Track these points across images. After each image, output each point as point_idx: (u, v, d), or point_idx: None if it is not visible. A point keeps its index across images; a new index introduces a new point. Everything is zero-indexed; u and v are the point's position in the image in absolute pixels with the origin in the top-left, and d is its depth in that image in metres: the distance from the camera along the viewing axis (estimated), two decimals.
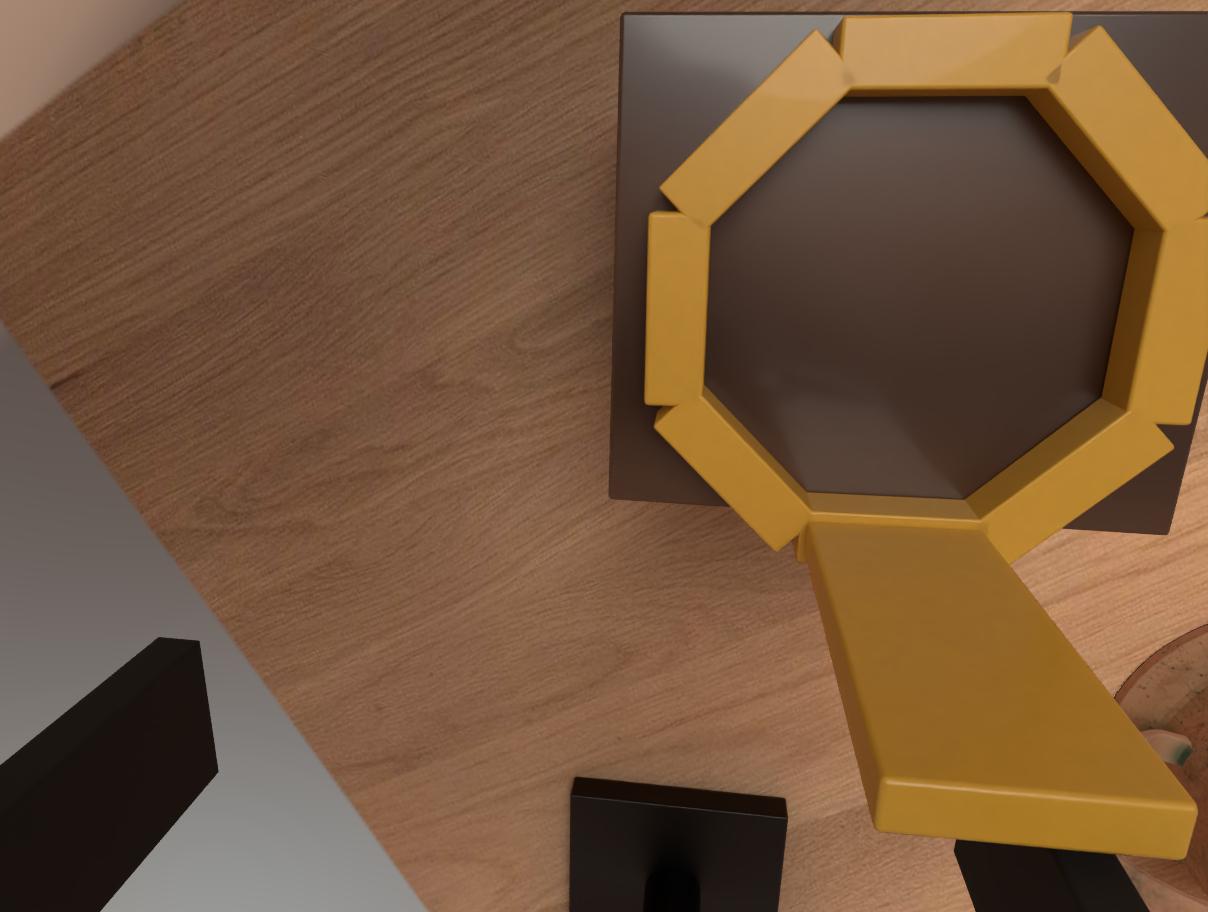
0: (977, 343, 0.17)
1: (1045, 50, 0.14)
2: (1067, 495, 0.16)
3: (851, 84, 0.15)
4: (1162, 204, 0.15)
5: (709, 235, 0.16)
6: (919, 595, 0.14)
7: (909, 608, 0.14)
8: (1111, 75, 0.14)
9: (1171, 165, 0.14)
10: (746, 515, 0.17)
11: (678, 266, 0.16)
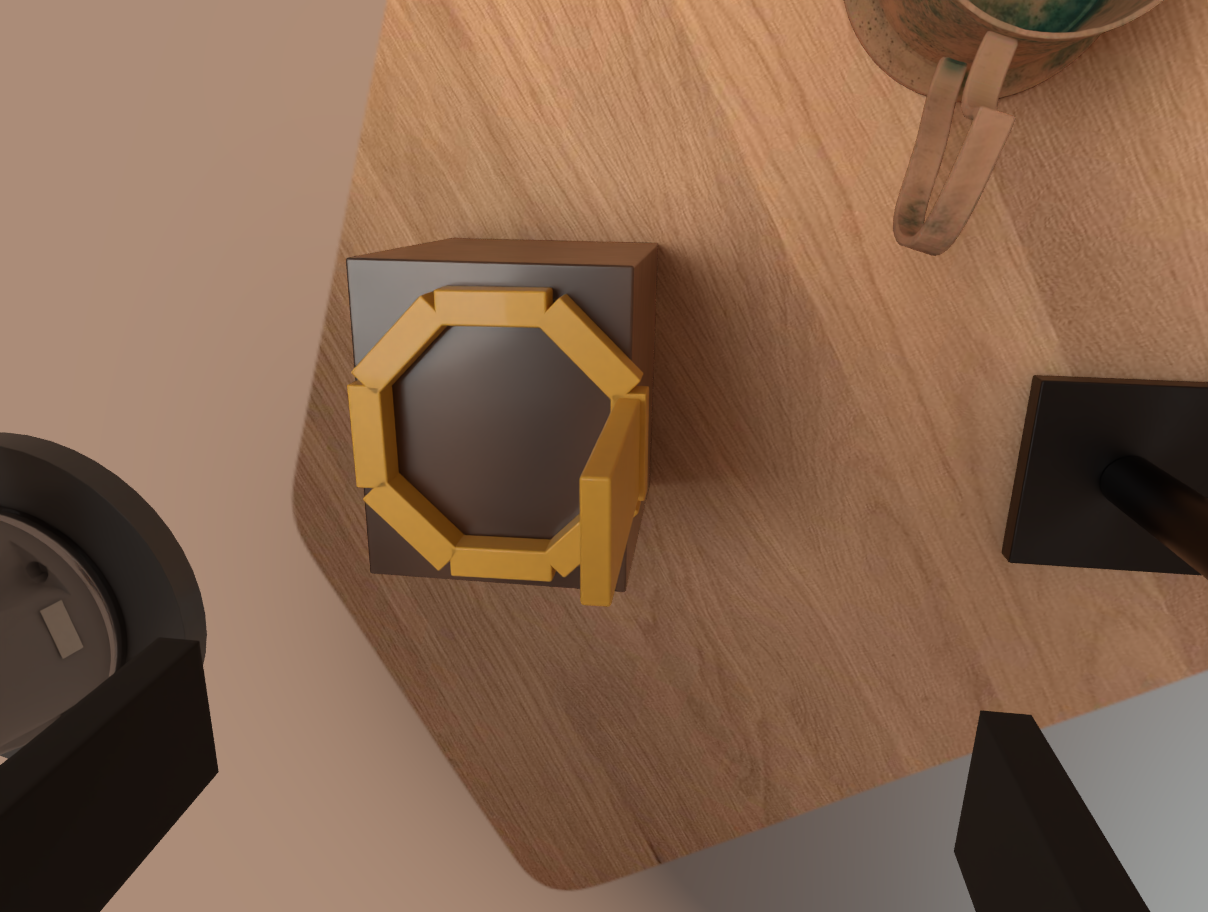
0: (519, 393, 0.29)
1: (363, 396, 0.29)
2: (592, 353, 0.27)
3: (385, 482, 0.30)
4: (428, 329, 0.28)
5: (460, 547, 0.30)
6: None
7: None
8: (371, 364, 0.28)
9: (410, 328, 0.28)
10: None
11: (476, 562, 0.30)
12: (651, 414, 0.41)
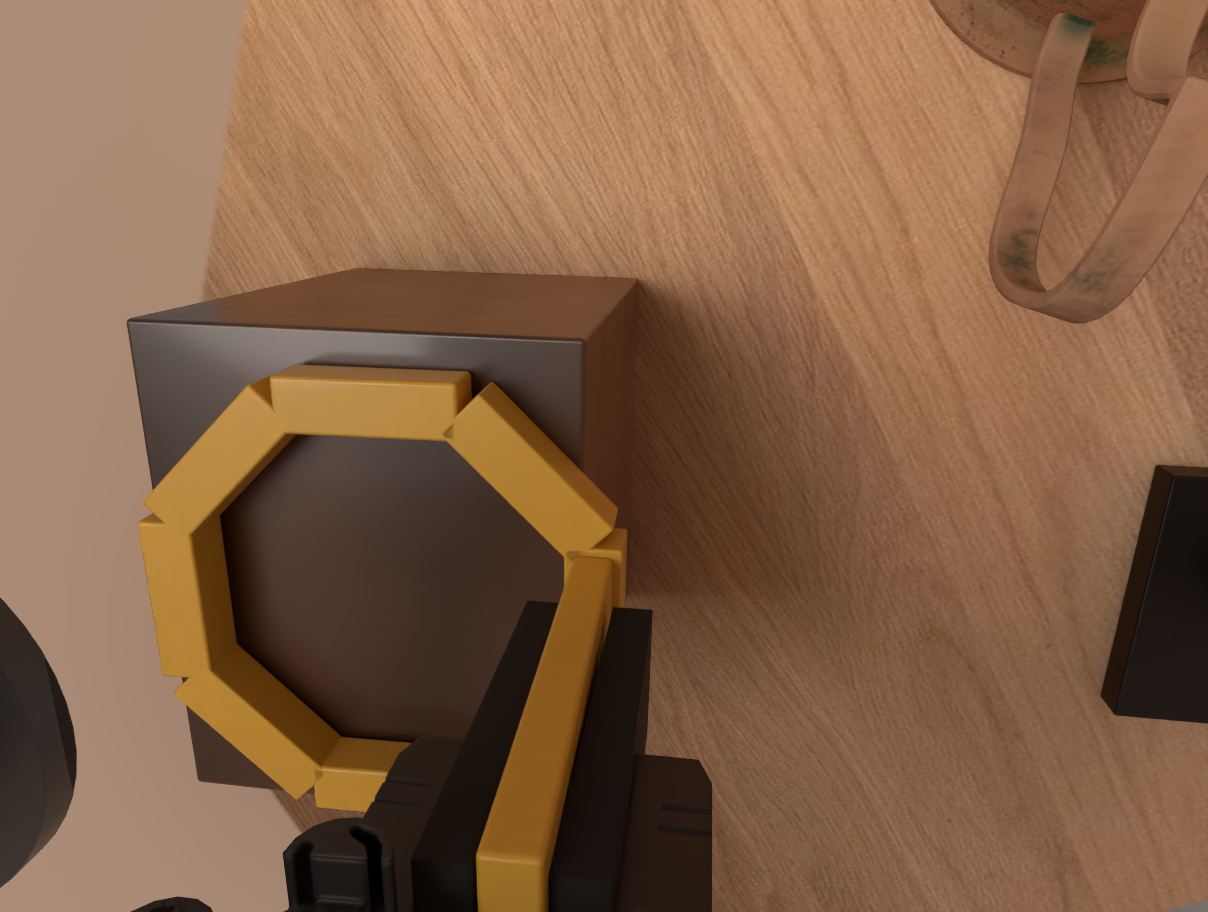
0: (407, 533, 0.19)
1: (165, 539, 0.18)
2: (533, 484, 0.16)
3: (207, 669, 0.19)
4: (264, 439, 0.17)
5: (328, 767, 0.19)
6: None
7: None
8: (174, 491, 0.17)
9: (233, 437, 0.17)
10: None
11: (353, 791, 0.19)
12: (628, 508, 0.30)
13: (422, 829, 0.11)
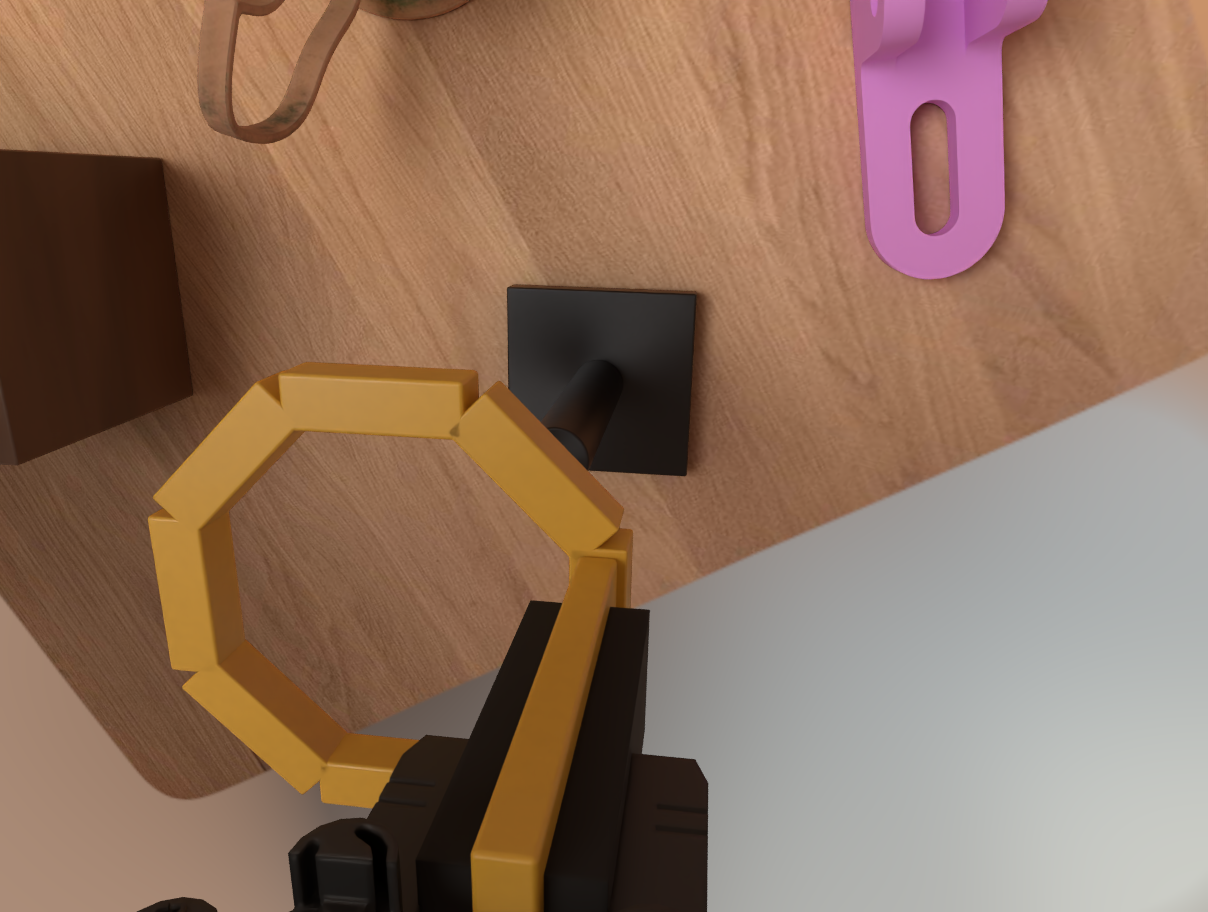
0: None
1: (174, 534, 0.18)
2: (539, 483, 0.16)
3: (215, 663, 0.19)
4: (272, 436, 0.17)
5: (334, 762, 0.19)
6: None
7: None
8: (184, 486, 0.17)
9: (242, 433, 0.17)
10: None
11: (358, 787, 0.19)
12: (176, 324, 0.43)
13: (426, 829, 0.11)
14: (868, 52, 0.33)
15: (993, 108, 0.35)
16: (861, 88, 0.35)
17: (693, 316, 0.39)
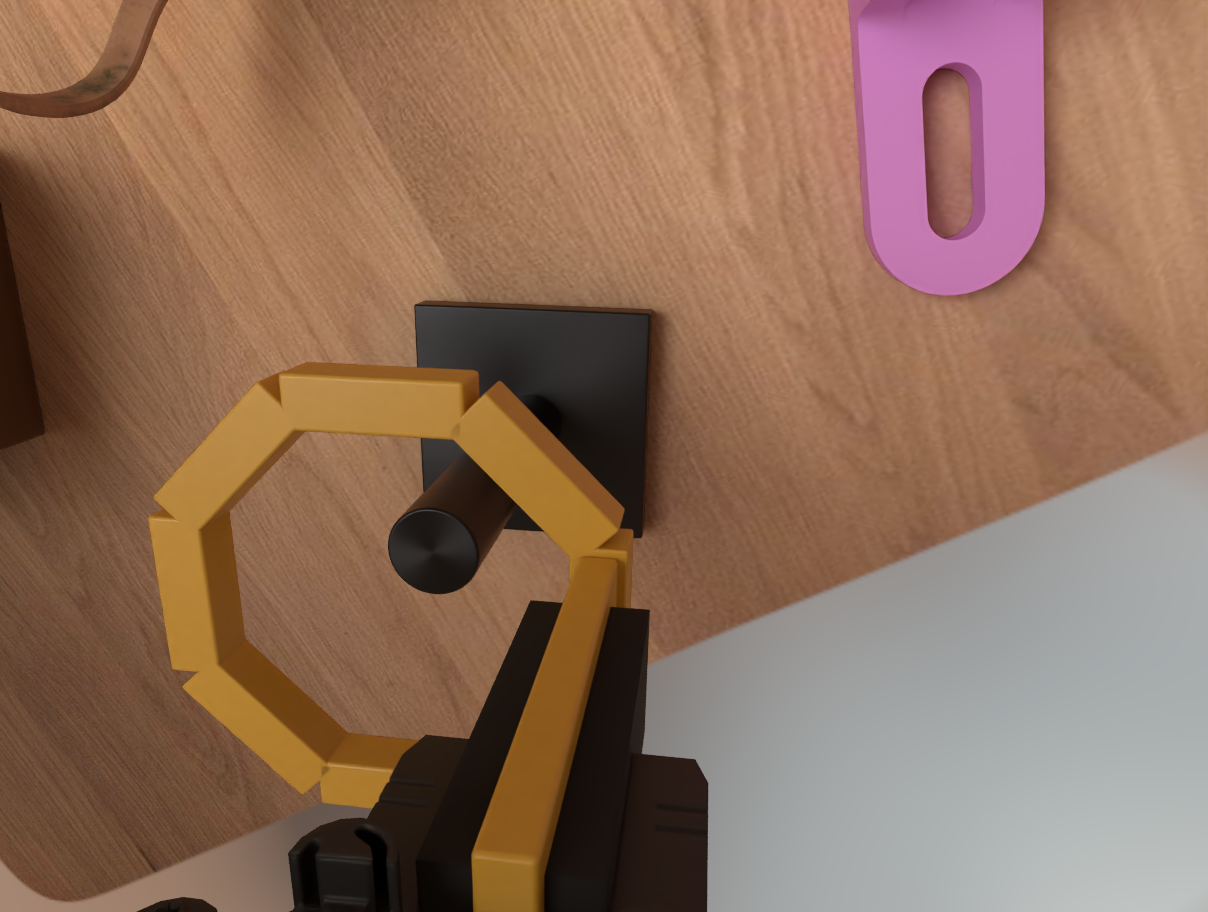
0: None
1: (174, 534, 0.18)
2: (539, 483, 0.16)
3: (215, 663, 0.19)
4: (272, 436, 0.17)
5: (334, 762, 0.19)
6: None
7: None
8: (184, 486, 0.17)
9: (243, 433, 0.17)
10: None
11: (359, 787, 0.19)
12: (16, 349, 0.35)
13: (426, 829, 0.11)
14: None
15: (1031, 73, 0.26)
16: (858, 48, 0.27)
17: (647, 341, 0.31)
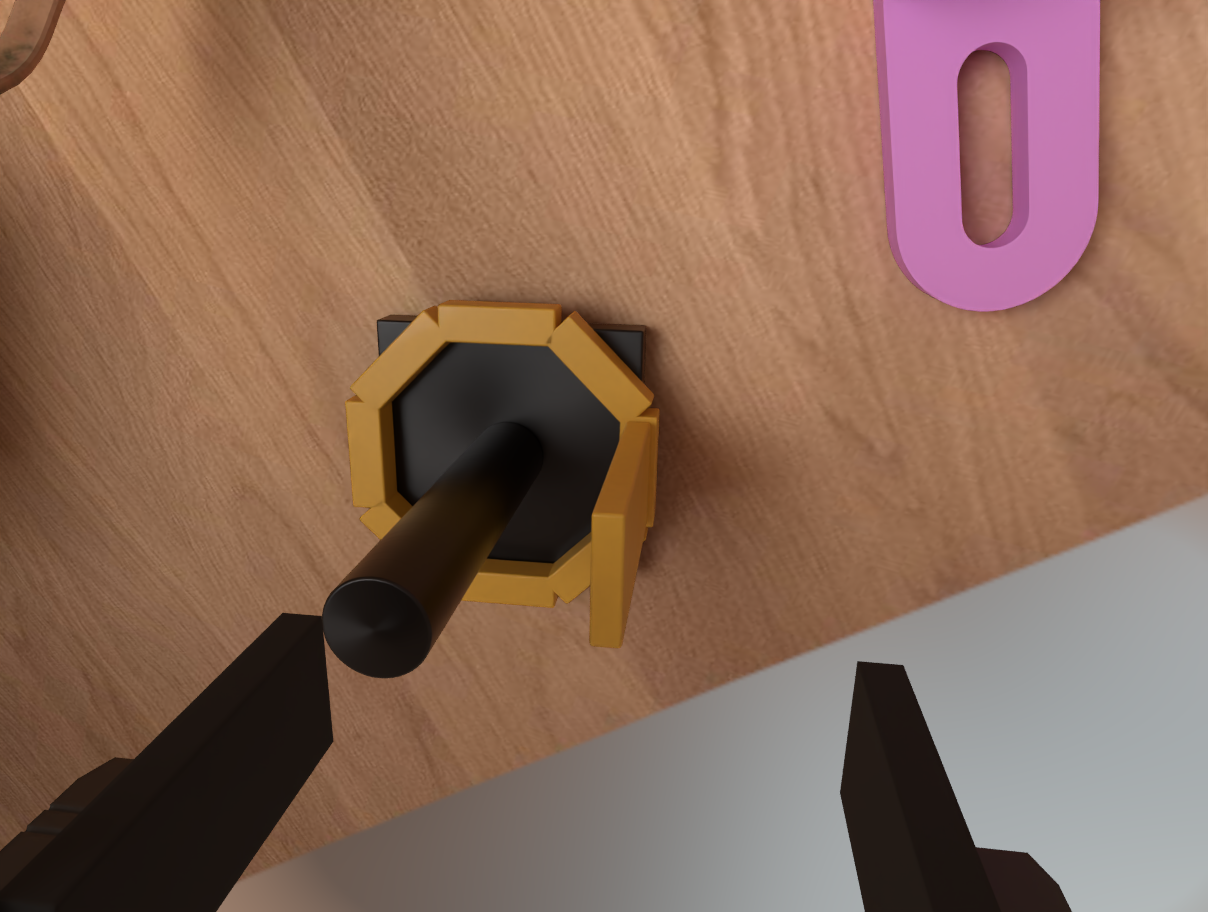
0: None
1: (362, 412, 0.28)
2: (601, 374, 0.26)
3: (383, 502, 0.29)
4: (431, 345, 0.27)
5: None
6: None
7: None
8: (371, 380, 0.27)
9: (412, 344, 0.27)
10: None
11: (475, 587, 0.29)
12: None
13: None
14: None
15: (1085, 55, 0.23)
16: (884, 26, 0.23)
17: (640, 362, 0.27)
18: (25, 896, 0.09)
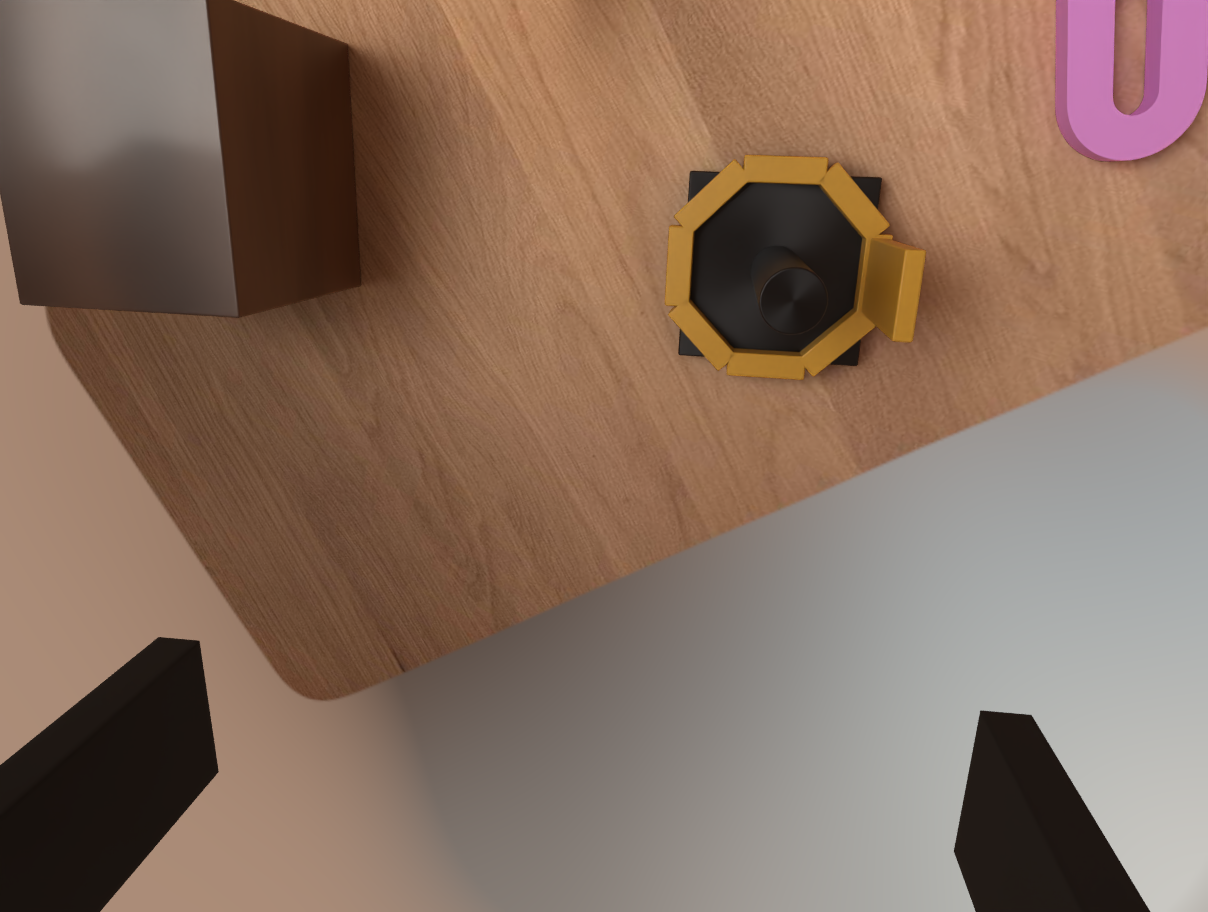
0: (125, 119, 0.32)
1: (680, 234, 0.40)
2: (856, 203, 0.38)
3: (687, 301, 0.41)
4: (737, 184, 0.39)
5: (736, 352, 0.41)
6: (876, 288, 0.36)
7: (877, 295, 0.36)
8: (690, 210, 0.39)
9: (723, 183, 0.39)
10: (856, 339, 0.40)
11: (747, 364, 0.41)
12: (352, 212, 0.43)
13: None
14: None
15: None
16: None
17: (877, 200, 0.39)
18: None
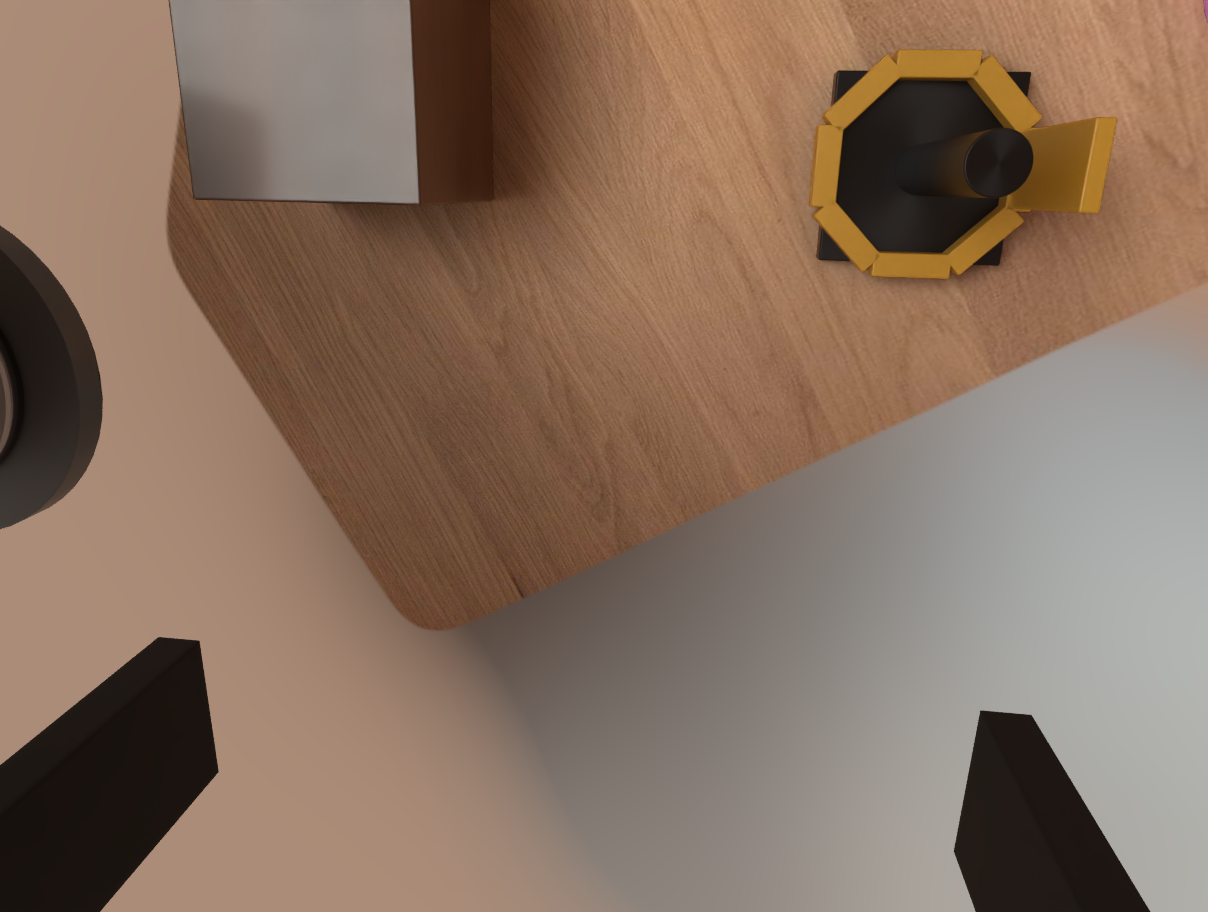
0: (313, 1, 0.32)
1: (830, 133, 0.40)
2: (1009, 96, 0.39)
3: (834, 201, 0.41)
4: (889, 80, 0.39)
5: (882, 252, 0.42)
6: (1039, 173, 0.37)
7: (1042, 180, 0.36)
8: (841, 107, 0.40)
9: (875, 79, 0.39)
10: (1004, 235, 0.41)
11: (893, 264, 0.42)
12: (489, 123, 0.44)
13: None
14: None
15: None
16: None
17: (1026, 95, 0.40)
18: None
